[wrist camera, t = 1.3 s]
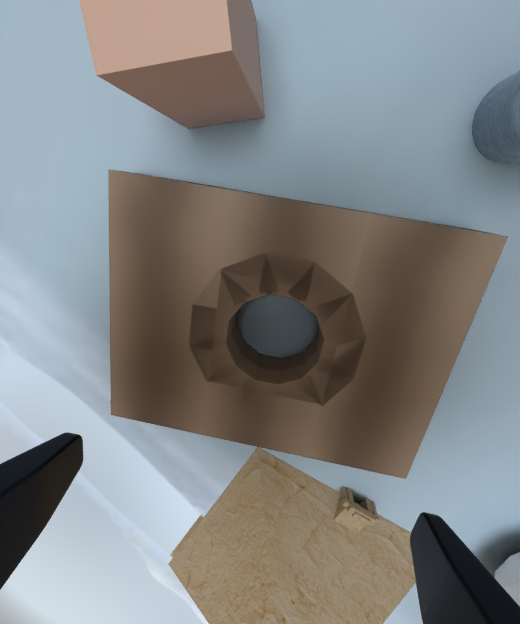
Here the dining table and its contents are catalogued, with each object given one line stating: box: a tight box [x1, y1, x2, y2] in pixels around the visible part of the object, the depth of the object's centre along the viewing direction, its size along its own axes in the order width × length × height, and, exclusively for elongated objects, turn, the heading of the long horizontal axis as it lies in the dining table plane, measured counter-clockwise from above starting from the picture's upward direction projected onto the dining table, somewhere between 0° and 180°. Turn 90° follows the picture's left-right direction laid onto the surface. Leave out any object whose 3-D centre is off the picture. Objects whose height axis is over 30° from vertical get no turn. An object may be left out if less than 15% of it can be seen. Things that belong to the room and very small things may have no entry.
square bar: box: [80, 0, 265, 129], centre depth 12 cm, size 4×4×8 cm
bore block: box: [109, 170, 508, 479], centre depth 18 cm, size 18×14×3 cm
